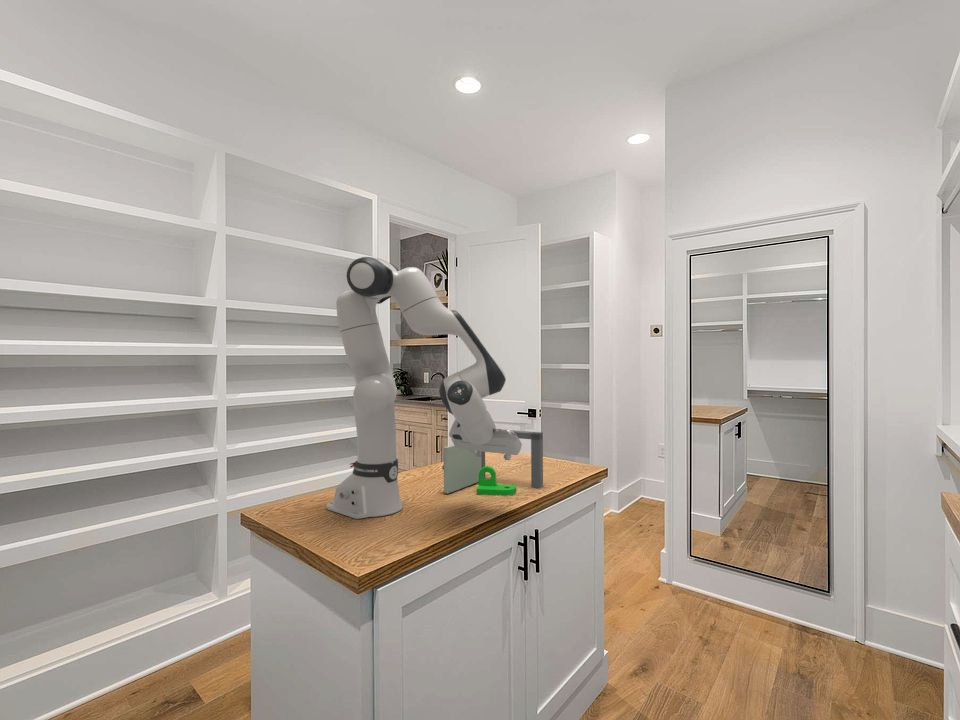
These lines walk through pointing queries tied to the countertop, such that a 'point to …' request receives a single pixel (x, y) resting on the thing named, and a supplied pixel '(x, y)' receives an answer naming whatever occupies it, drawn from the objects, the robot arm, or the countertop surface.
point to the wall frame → (535, 456)
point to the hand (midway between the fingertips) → (493, 456)
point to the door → (459, 468)
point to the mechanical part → (493, 484)
